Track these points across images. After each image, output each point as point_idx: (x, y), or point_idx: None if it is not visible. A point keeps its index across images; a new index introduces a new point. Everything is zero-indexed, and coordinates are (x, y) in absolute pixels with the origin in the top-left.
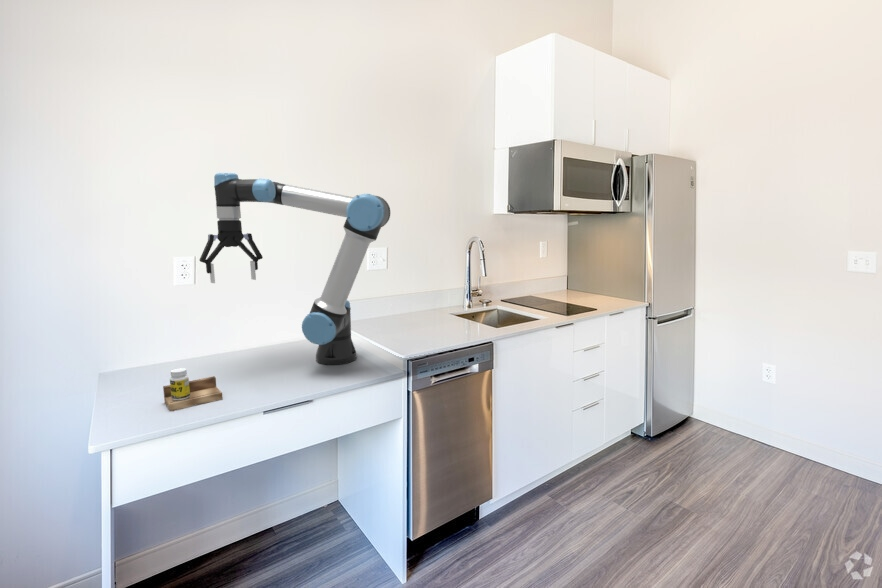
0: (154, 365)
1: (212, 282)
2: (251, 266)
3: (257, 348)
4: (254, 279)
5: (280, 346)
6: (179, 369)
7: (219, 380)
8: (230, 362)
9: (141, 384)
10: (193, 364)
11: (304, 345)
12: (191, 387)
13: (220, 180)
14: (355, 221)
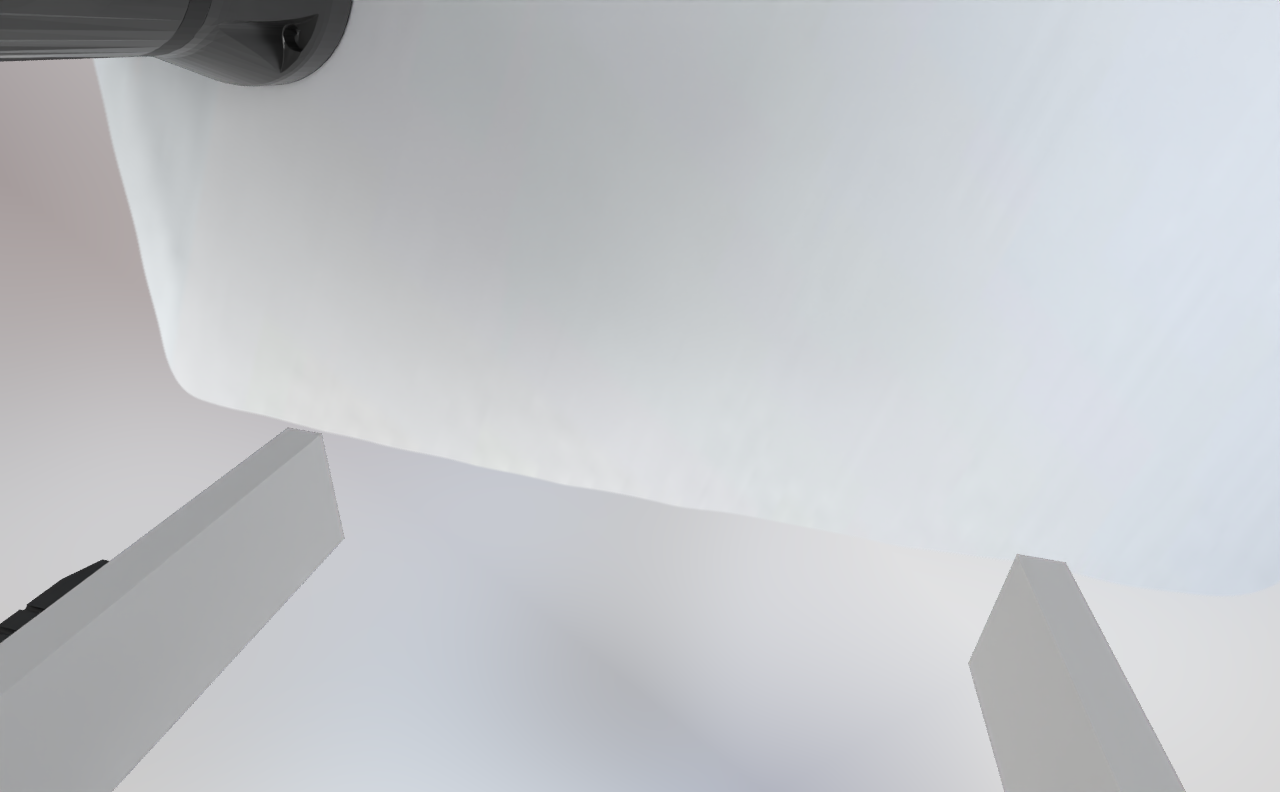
0: None
1: (1067, 582)
2: (142, 686)
3: (543, 464)
4: (307, 434)
5: (443, 416)
6: None
7: (945, 47)
8: (738, 343)
9: (1269, 313)
10: (887, 445)
11: (338, 346)
12: None
13: None
14: None
